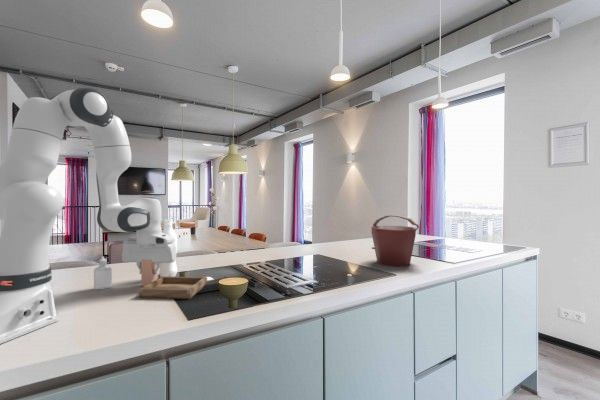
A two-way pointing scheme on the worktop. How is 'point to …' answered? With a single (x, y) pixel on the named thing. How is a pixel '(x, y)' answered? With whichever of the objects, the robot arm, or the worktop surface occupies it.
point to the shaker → (147, 272)
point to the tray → (173, 287)
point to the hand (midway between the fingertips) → (149, 273)
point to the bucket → (394, 243)
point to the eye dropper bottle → (102, 275)
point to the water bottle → (171, 268)
